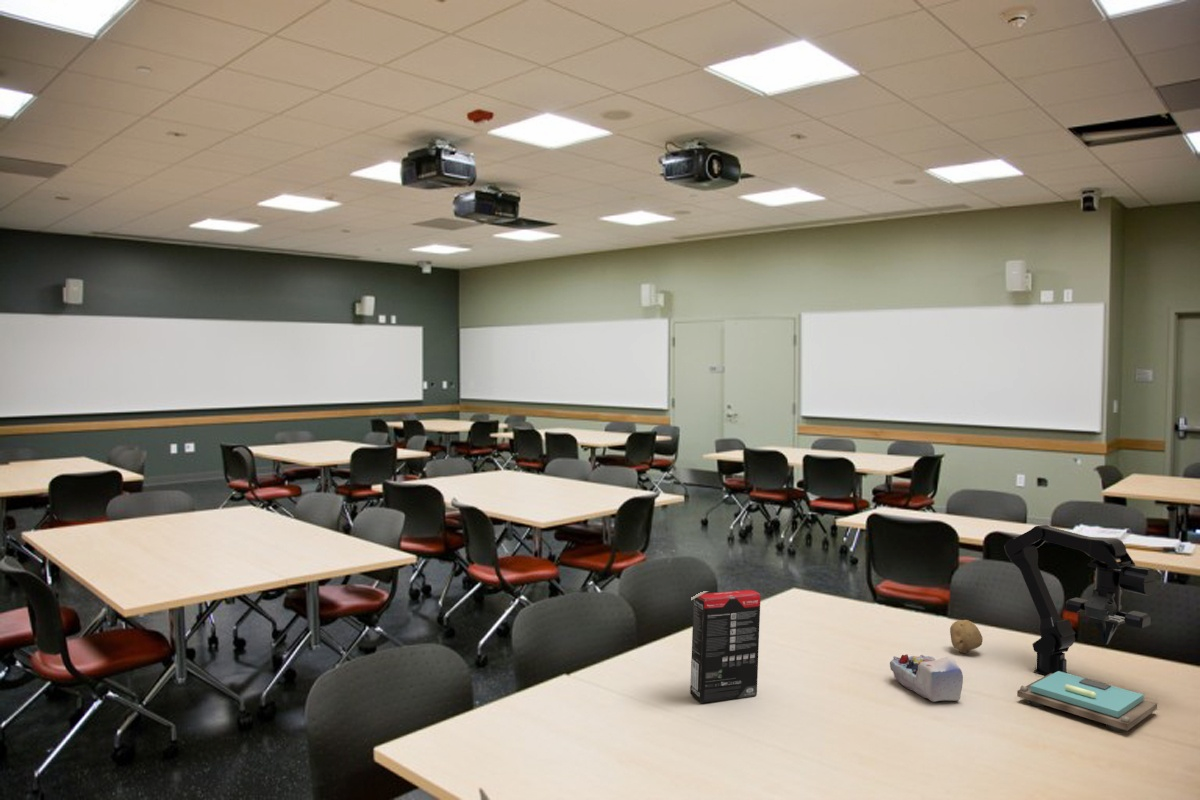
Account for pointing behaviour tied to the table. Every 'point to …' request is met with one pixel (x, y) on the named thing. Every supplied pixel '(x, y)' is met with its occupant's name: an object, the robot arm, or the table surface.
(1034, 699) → the base
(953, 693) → the cell model
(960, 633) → the potato
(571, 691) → the table surface
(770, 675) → the table surface
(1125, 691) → the plate
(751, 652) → the graphics card box
